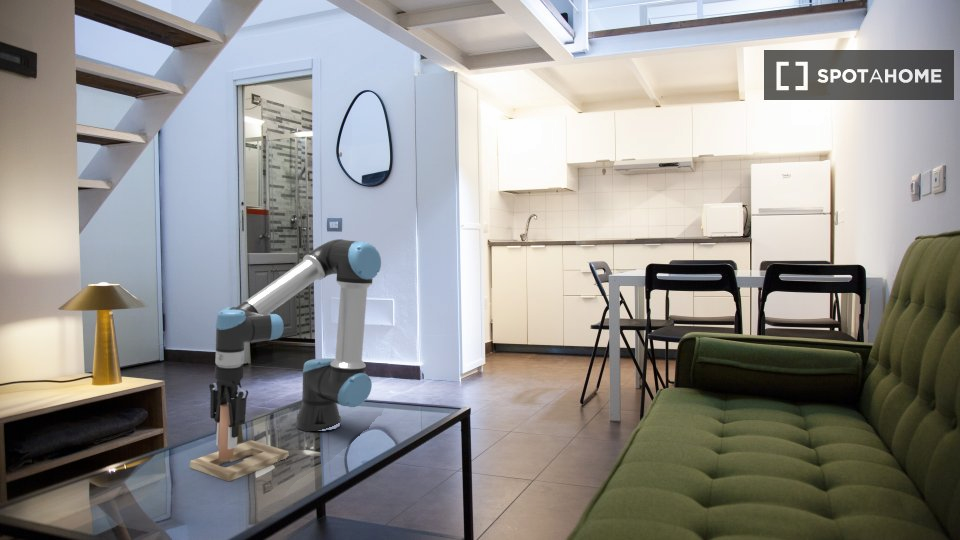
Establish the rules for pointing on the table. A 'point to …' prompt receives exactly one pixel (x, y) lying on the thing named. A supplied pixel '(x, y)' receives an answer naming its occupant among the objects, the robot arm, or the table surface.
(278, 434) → the table surface
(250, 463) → the keyhole board
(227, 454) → the peg
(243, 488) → the table surface
